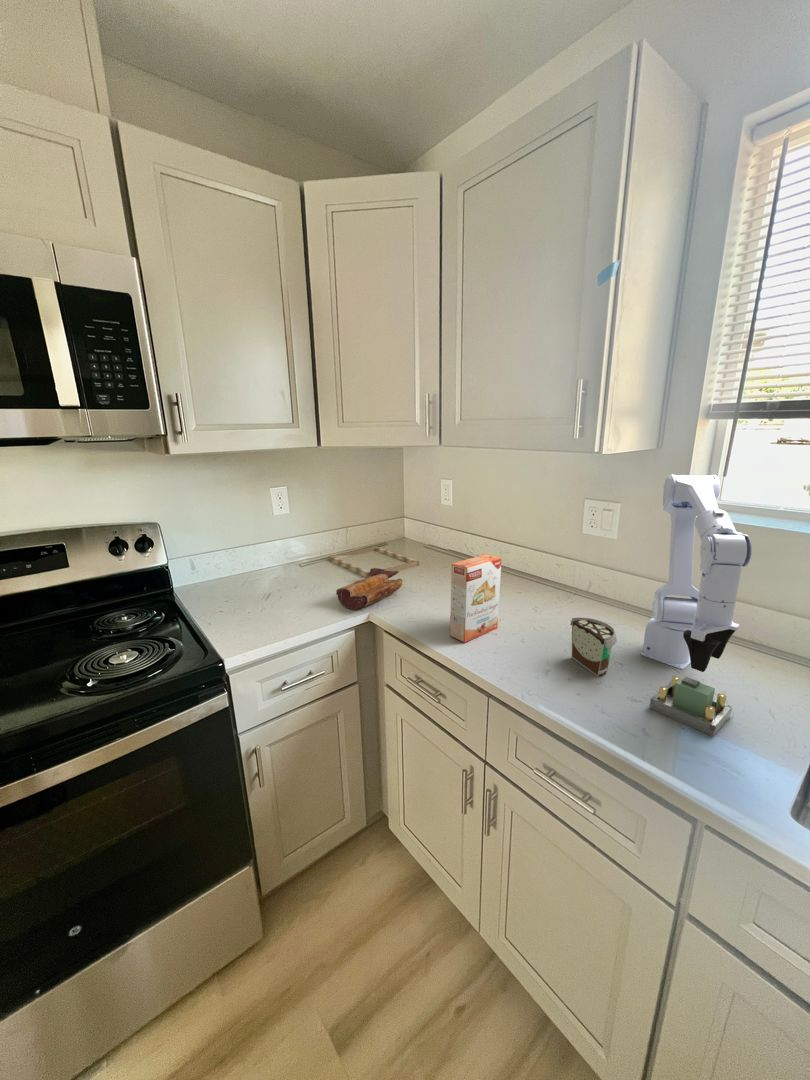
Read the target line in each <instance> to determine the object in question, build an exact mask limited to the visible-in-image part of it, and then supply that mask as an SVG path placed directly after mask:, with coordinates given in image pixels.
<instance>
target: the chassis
mask: <svg viewBox="0 0 810 1080" xmlns="http://www.w3.org/2000/svg"><path fill="white" fill-rule="evenodd" d="M680 678H681V677H680V676H677V675H673V676H672V677H671V682H668V683H667V684H666V685H664V686H659V688H658V689H659V690H658V691H657V692H656V693H655V694H654V695H653V696H652V697H651V698H650V701H649V702H650V703H649V709H650V710H653V711H654V712H657V713H659V714H662V715H664V716H666V717H669V718H670V719H673V720H676V721H677V722H680V723H681V724H684V725H687V726H689V727H690V728H693V729H695V730H697V731H700V732H702V733H705V734H706V735H709V736H711V737H715V735H716V734H718V732H719V731H720V730H721V728H722V727H723V726H724V725H725V723H726V722H727V721H728V720H729V718H730V717H731V714H732V709H733V708H732V707H733V706H732V705H730V704H726V702H727V696H728V695H726V694H724V693H720V692H718V693H717V695H716V696H717V697H716V699H715V698H713V702H712V706H710V705H707V706H706V709H705V715H704V719H703V718H701V717H699V716H696V715H694V714H692V713H689V712H687V711H685V710H682V709H680V708H678V707H675V706H673V705H672V703H673V696H674V690H675V683H676V682H677V681H678V680H679V679H680Z"/></svg>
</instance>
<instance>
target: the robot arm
mask: <svg viewBox="0 0 810 1080" xmlns="http://www.w3.org/2000/svg"><path fill="white" fill-rule="evenodd" d="M663 484H664V485H663V495H662V506H663V511H664V512H666V513H668V514H670V523H671V524H670V525H671V527H670V541H669V542H670V545H669V564H668V565H669V567H668V568H669V569H668V582H667V583H665V584H664V585H662V586H660V587H658V588H656V590H655V591H654V596H653V597H654V598H653V601H652V605H651V607H652V608H651V610H652V617H651V618H650V619H649V620H648V622H647V624H646V627H645V630H644V638H643V644H642V652H640V654H641V656H644V657H647V658H648V659H652V660H655V661H656V662H657V661H658V662H660V663H662V664H666V665H668V666H671V667H674V668H676V669H679V670H685V669H686V668H687V667H688V666H689V665H690V668H691V669H694V670H696V671H698V672H701V673H705V671H706V670H707V668H708V665H709V663H710V660H711V658H714V659H720V658H721V656H722V655H723V653H724V651H725V649H726V646H727V644H728V642H729V640H730V638H732V636H733V634H735V632H736V631H738V630H739V629H740V624H739V623H736V622H734V620H733V618H734V613H735V608H736V602H737V598H738V597H737V595H738V592H739V585H740V580H741V574H742V569H743V568H744V567H747V566H748V565H749V563H750V562H751V558H752V553H753V545H752V541H751V538H750V536H749V535H748V534H746V533H745V534H744V533H742V532H741V531H739V532H738V531H737V529H736V528H735V525H734V523H733V522H732V520H731V518H730V515H729V514H728V512H727V511H725V510H723V509H719V506H718V502H717V499H718V498H719V496H720V492H721V480H720V478H719V477H718V476H717V475H716V474H711V475H701V474H700V475H698V474H697V475H696V474H695V475H693V474H687V475H686V474H682V475H681V474H679V475H677V474H672V473H671V474H669V475H668V476H667V477H666V479H665V481H664V483H663ZM695 528H696V529H695ZM695 531H697V533H698V536H699V539H700V541H701V543H700V549H699V550H700V565H699V567H700V571H701V578H700V582H699V589H698V588H696V587H695V586H694V585H693V575H694V573H693V571H694V552H695V551H694V547H695ZM675 596H680V597H675ZM683 597H684V598H683ZM687 597H689V598H687Z"/></svg>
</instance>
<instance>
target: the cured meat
mask: <svg viewBox="0 0 810 1080" xmlns="http://www.w3.org/2000/svg"><path fill="white" fill-rule="evenodd" d="M384 569H385V568H377V567H372V568H370V569H369V571H368V572H369V575H370V577H369V578H366V577H365V578H363V579H360V580H357V581H355V582H353V583H351V584H348V585H345V586H342V587H340V588H339V587H338V588H337V589H336V593H335V594H336V596H337V599H338V602H339V603H340V604H341V605H342V606H343V607H344V608H347V609H350V610H353V611H355V610H359V609H362V608H365V607H367V606H370V605H373V604H374V603H377V602H379V601H381V600H383V599H385V598H387V597H389V596H392V595H393V594H394V593H396V592H397V591H398V590H400V588H401V587H402V586H403V579H402V578H397V579H390V578H392V577H394V576H396V575H397V574H399V573H400V571H384Z"/></svg>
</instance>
